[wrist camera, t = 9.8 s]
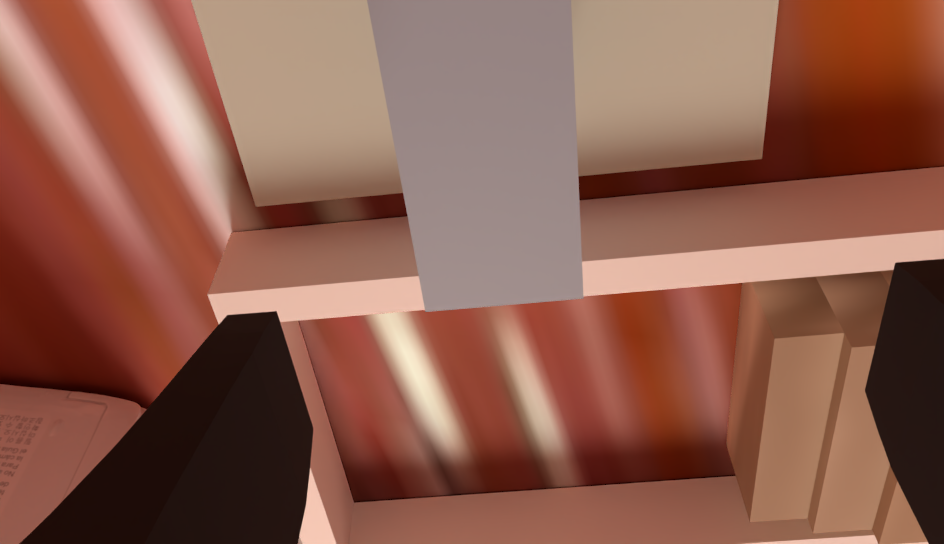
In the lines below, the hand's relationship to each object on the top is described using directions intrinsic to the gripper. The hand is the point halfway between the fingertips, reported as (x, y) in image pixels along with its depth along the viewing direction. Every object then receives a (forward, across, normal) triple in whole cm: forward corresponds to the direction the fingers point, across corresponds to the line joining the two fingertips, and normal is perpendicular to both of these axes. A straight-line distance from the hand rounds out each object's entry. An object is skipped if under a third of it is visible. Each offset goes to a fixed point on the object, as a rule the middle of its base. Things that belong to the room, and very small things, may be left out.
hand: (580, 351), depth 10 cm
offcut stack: (+10, -8, +10) cm, 17 cm away
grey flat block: (+10, +1, -2) cm, 10 cm away
